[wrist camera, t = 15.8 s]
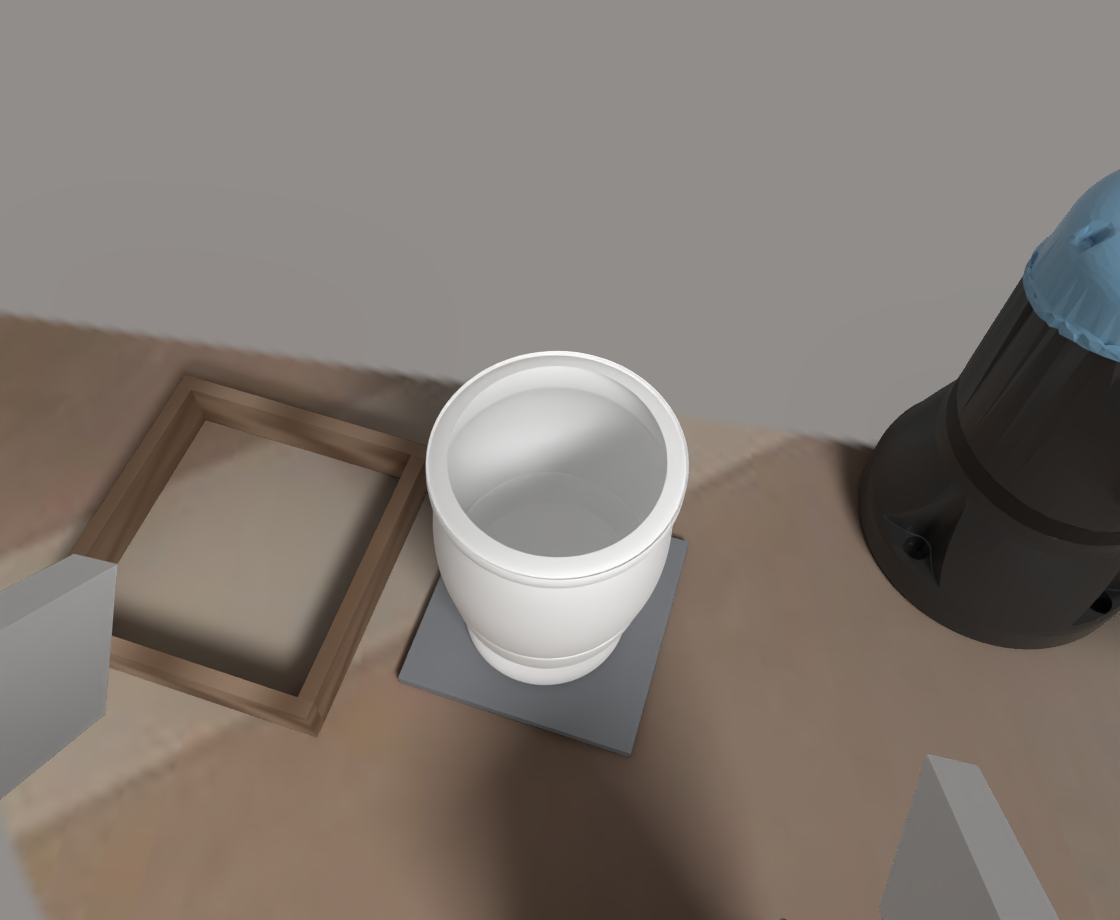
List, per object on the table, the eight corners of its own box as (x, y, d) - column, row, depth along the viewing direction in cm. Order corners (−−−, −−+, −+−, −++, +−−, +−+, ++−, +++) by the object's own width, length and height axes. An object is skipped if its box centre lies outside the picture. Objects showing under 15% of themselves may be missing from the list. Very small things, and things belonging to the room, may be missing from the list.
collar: (434, 475, 56) (430, 446, 53) (317, 737, 48) (306, 718, 45) (199, 405, 58) (185, 374, 55) (49, 646, 50) (24, 624, 47)
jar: (498, 491, 55) (495, 316, 42) (674, 560, 53) (726, 400, 40) (409, 658, 50) (373, 517, 37) (599, 742, 48) (632, 624, 35)
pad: (687, 546, 54) (689, 542, 54) (629, 757, 48) (630, 754, 48) (480, 485, 56) (480, 480, 55) (398, 682, 50) (397, 678, 49)
